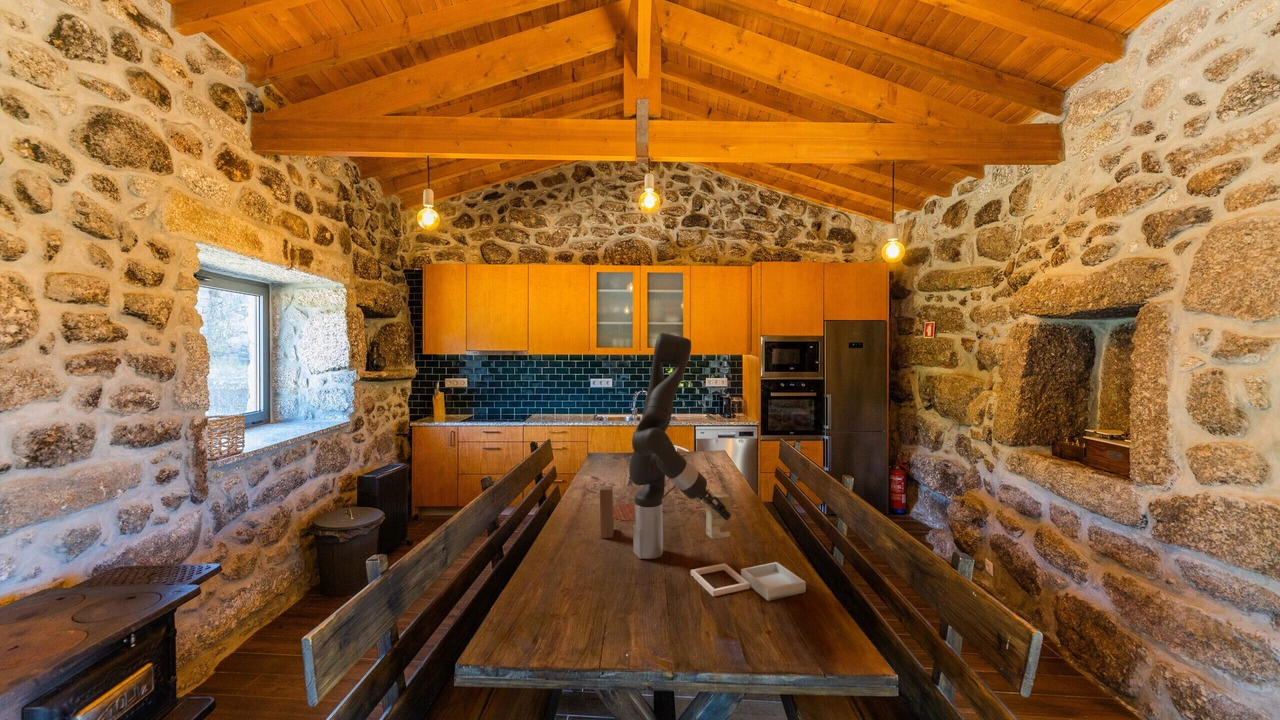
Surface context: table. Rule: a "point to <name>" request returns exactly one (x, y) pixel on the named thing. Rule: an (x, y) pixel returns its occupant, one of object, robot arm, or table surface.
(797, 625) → the table surface
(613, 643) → the table surface
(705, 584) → the holder
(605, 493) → the wooden block
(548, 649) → the table surface
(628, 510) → the incense holder
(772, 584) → the tray
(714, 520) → the skincare box
